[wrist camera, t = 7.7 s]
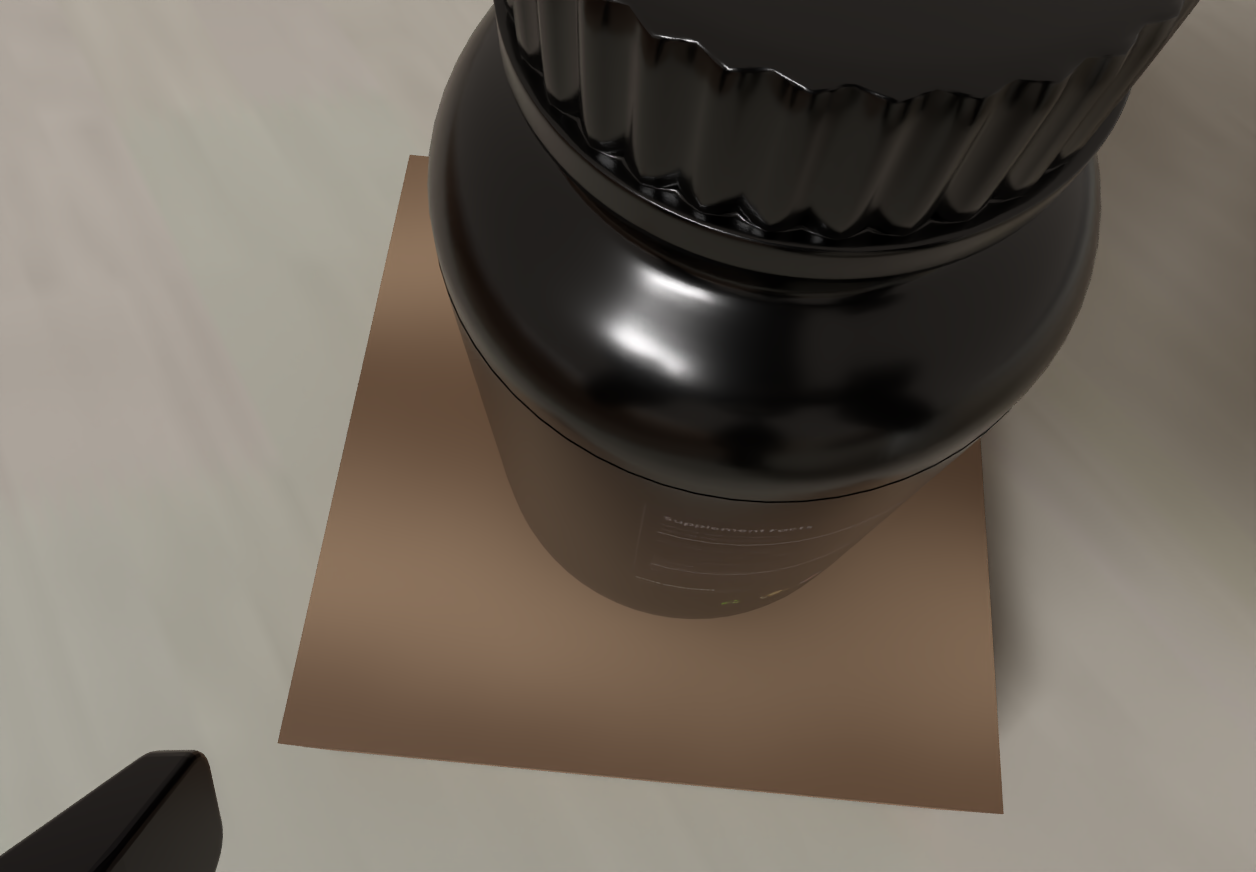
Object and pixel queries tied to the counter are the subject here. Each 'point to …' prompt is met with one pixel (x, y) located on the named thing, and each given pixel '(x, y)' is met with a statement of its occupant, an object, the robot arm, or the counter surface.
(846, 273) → the supplement bottle
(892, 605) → the walnut plinth
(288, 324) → the counter surface
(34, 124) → the counter surface
